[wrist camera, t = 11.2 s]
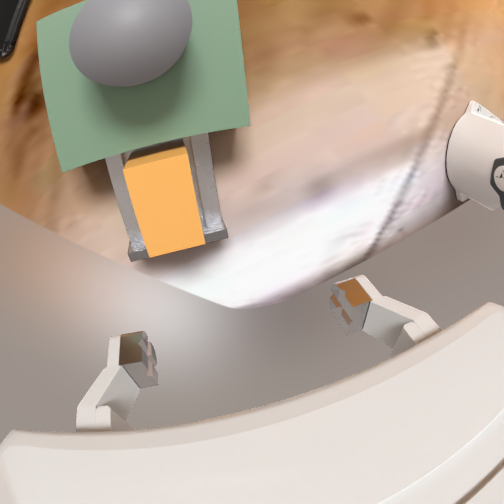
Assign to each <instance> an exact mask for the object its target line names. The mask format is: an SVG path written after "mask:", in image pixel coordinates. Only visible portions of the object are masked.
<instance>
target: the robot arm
mask: <svg viewBox="0 0 504 504" xmlns="http://www.w3.org/2000/svg"><path fill="white" fill-rule="evenodd" d="M447 173H448V178H449V180H450V183H451V184H452V186H453V187H454V188H455V190H456V196H457V199H458V200H460V201H462V202H463V201H465V200H467V199H468V198H470V199H472V200H473V201H475V202H477V203H479V204H481V205H483V206H485V207H486V208H488V209H490V210H495V209H497V208H499V207H502V209H503V210H504V120H503V121H501V120H500V119H499V118H497V117H496V116H495V115H493V114H492V113H491V112H490V111H488V110H487V109H485V108H484V107H483V106H481V105H480V104H479V103H477V102H475V101H470V103H469V105H468V107H467V110H466V112H465V114H464V115H463V116H462V117H461V118H460V119H459V120H458V122H457V123H456V125H455V127H454V129H453V131H452V134H451V137H450V141H449V145H448V150H447ZM331 291H332V292H333V295H332V296H331V298H330V308H331V311H332V313H333V315H334V316H335V318H337V319H339V320H340V326H341V328H342V329H343V331H344V332H345V334H346V335H348V334H351V333H353V332H357V331H359V330H362V329H363V331H365V332H366V333H368V334H370V335H371V336H373V337H375V338H376V339H378V340H380V341H381V342H383V343H385V344H386V345H388V346H390V347H391V348H393V351H392V353H391V355H390V358H389V359H387V360H385V361H383V362H381V363H379V364H376V365H374V366H372V367H370V368H367V369H365V370H363V371H361V372H358V373H356V374H353V375H351V376H349V377H346V378H344V379H341V380H338V381H336V382H333V383H331V384H328V385H326V386H323V387H320V388H317V389H314V390H312V391H309V392H306V393H303V394H300V395H297V396H294V397H291V398H288V399H284V400H281V401H278V402H274V403H271V404H267V405H264V406H260V407H256V408H253V409H249V410H245V411H241V412H237V413H233V414H228V415H224V416H219V417H215V418H210V419H205V420H200V421H195V422H189V423H182V424H176V425H169V426H162V427H154V428H146V429H136V430H135V429H134V428H133V427H131V426H130V425H129V424H128V423H127V422H126V419H127V417H128V415H129V413H130V410H131V408H132V406H133V404H134V402H135V400H136V397H137V395H138V394H139V392H140V388H145V387H151V386H156V385H158V374H157V371H156V369H155V368H154V367H155V366H156V364H157V359H156V354H155V350H154V347H153V345H152V343H150V342H148V337H147V335H146V333H145V331H140V332H134V333H128V334H122V335H116V336H111V338H110V341H109V351H108V362H107V363H108V364H107V368H104V369H103V370H102V372H101V374H100V375H99V376H98V378H97V379H96V381H95V382H94V383H93V385H92V386H91V388H90V389H89V391H88V392H87V393H86V395H85V396H84V398H83V399H82V401H81V402H80V404H79V405H78V407H77V422H76V432H50V431H33V430H24V429H14V430H12V431H11V432H10V433H9V434H8V435H7V437H6V438H5V439H4V440H3V442H2V443H1V444H0V504H504V307H503V306H500V305H498V304H495V303H492V302H487V303H484V304H483V305H481V306H480V307H478V308H477V309H475V310H474V311H472V312H471V313H469V314H468V315H466V316H465V317H463V318H461V319H460V320H458V321H457V322H455V323H453V324H452V325H450V326H448V327H447V328H445V329H444V330H441V329H440V328H439V327H438V326H437V324H436V323H435V322H434V321H433V319H432V318H431V317H430V316H429V315H428V314H427V313H426V312H423V311H421V310H418V309H416V308H414V307H411V306H409V305H406V304H404V303H401V302H399V301H397V300H394V299H391V298H389V297H387V296H384V297H382V295H381V294H380V293H379V292H378V291H377V289H376V288H375V287H374V286H373V285H372V284H371V283H370V281H369V280H368V279H367V278H366V277H365V276H364V275H360V276H356V277H353V278H350V279H347V280H343V281H340V282H337V283H334V284H333V285H332V288H331Z"/></svg>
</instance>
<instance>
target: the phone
mask: <svg viewBox="0 0 504 504" xmlns="http://www.w3.org/2000/svg"><path fill="white" fill-rule="evenodd" d="M29 2H30V0H0V58H3V57H6V56H8V55H9V54H10V53H11V52H12V50H13V48H14V46H15V43H16V39H17V36H18V33H19V30H20V27H21V24H22V21H23V18H24V15H25V13H26V10H27V7H28V5H29Z"/></svg>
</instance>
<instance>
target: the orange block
mask: <svg viewBox="0 0 504 504" xmlns="http://www.w3.org/2000/svg"><path fill="white" fill-rule="evenodd" d="M123 172H124V176H125V180H126V184H127V187H128V191H129V194H130V198H131V201H132V205H133V208H134V211H135V215H136V218H137V221H138V224H139V228H140V231H141V234H142V237H143V240H144V243H145V246H146V249H147V252H148V255H149V257H150V258H151V257H155V256H159V255H163V254H167V253H171V252H175V251H179V250H183V249H187V248H191V247H195V246H199V245H203V244H205V239H204V235H203V230H202V225H201V220H200V216H199V211H198V206H197V201H196V196H195V190H194V185H193V180H192V175H191V169H190V164H189V158H188V153H187V150H186V147H185V145H184V142H183V140H180V141H176V142H171V143H167V144H163V145H159V146H154V147H151V148H147V149H143V150H139V151H135V152H132V153H131V154H130V156H129V158H128V160H127V162H126V164H125V166H124V169H123Z"/></svg>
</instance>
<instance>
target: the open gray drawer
mask: <svg viewBox="0 0 504 504" xmlns="http://www.w3.org/2000/svg"><path fill="white" fill-rule="evenodd" d="M180 140H183V142H184V145H185V147H186V150H187V153H188V158H189V164H190V169H191V175H192V180H193V185H194V190H195V196H196V201H197V206H198V211H199V216H200V220H201V225H202V230H203V235H204V239H205V243H209V242H213V241H217V240H221V239H226V238H228V233H227V228H226V226H225V224H224V222H223V219H222V217H221V213H220V207H219V201H218V195H217V189H216V182H215V176H214V170H213V163H212V157H211V150H210V143H209V136H208V133H203V134H198V135H193V136H188V137H184V138H179V139H174V140H170V141H166V142H162V143H157V144H153V145H149V146H146V147H142V148H138V149H134V150H131V151H127V152H124V153H120V154H117V155H113V156H110V157H107V158H105V160H106V164H107V167H108V171H109V175H110V178H111V182H112V185H113V189H114V192H115V195H116V199H117V202H118V205H119V208H120V211H121V215H122V218H123V221H124V224H125V227H126V230H127V233H128V235H129V238H130V242H129V249H128V256H129V258H130V261H131V262H132V261H136V260H140V259H144V258H148V257H149V255H148V252H147V249H146V246H145V243H144V240H143V237H142V234H141V231H140V228H139V224H138V221H137V218H136V215H135V211H134V208H133V205H132V201H131V198H130V194H129V191H128V187H127V184H126V180H125V176H124V172H123V169H124V166H125V164H126V162H127V160H128V158H129V156H130V154H131V153H132V152H135V151H139V150H143V149H147V148H151V147H154V146H159V145H163V144H167V143H171V142H176V141H180Z"/></svg>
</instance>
